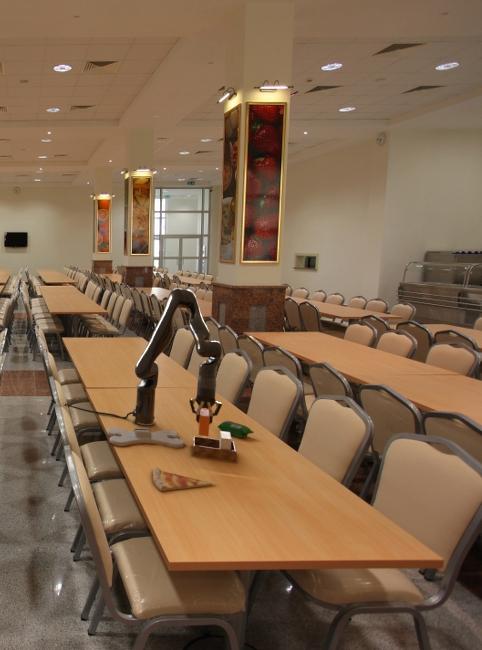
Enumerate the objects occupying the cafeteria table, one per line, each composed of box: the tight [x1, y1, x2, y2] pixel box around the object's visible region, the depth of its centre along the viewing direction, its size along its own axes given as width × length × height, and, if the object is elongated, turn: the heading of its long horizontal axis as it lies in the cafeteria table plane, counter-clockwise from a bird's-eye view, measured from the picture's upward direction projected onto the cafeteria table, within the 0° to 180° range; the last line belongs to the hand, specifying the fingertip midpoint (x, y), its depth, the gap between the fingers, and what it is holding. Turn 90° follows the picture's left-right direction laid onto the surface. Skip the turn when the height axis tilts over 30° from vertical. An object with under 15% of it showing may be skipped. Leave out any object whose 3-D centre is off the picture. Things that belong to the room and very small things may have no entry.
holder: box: [106, 427, 186, 449], centre depth 240 cm, size 19×34×5 cm, turn 86°
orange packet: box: [197, 408, 210, 437], centre depth 224 cm, size 4×9×9 cm, turn 159°
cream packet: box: [219, 430, 232, 450], centre depth 222 cm, size 4×9×9 cm, turn 160°
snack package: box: [216, 420, 255, 438], centre depth 248 cm, size 7×16×5 cm, turn 35°
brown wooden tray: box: [192, 435, 237, 462], centre depth 224 cm, size 17×12×5 cm
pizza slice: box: [152, 467, 214, 492], centre depth 194 cm, size 16×22×2 cm
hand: (203, 423), depth 224 cm, fingers closed on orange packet, 4 cm apart
